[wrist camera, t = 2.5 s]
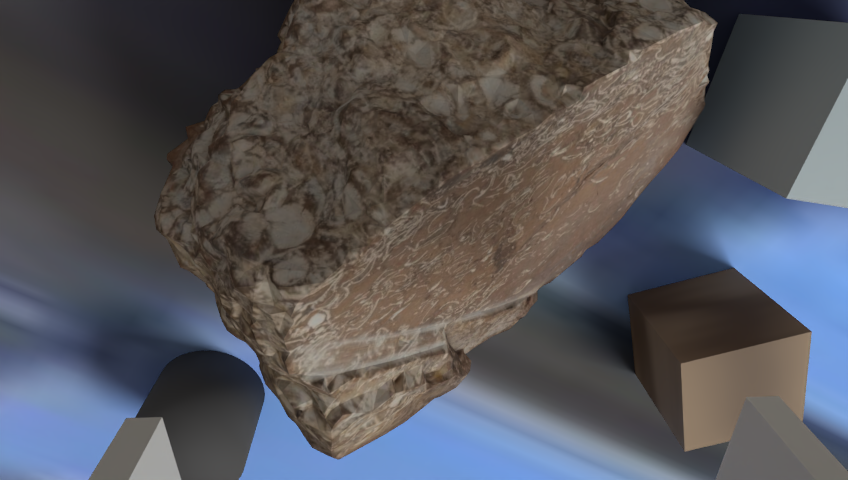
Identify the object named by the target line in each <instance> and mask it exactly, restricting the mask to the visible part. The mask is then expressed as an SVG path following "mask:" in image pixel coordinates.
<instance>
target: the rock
mask: <svg viewBox="0 0 848 480" xmlns="http://www.w3.org/2000/svg"><path fill="white" fill-rule="evenodd" d="M716 25H717V22H716V21H715V20H714V19H712V18H711V17H710V16H709V15H707V14H706V13H705V12H702V11H700V10H697V9H694V8H691V7H690V6H689V5H688V4H687V3H686V2H685V1H684V0H294V2H293V4H292V5H291V7H290V9H289V11H288V13H287V15H286V17H285V20H284V22H283V24H282V26H281V28H280V31H279V33H278V35H277V36H278V37H279V39H280V41H281V44H280V46H279V48H278V51H277V54H275V55H273V56H272V57H270V58H268V60H267V61H266V62H265V63H264V64H263V65H262V66H261V67H260V68H256V71H255V72H254V73H253V75H252V76H251V77H250V78H249V79H248V80H247V81H246V82H245V83H244V84H243V85H241V86H240V87H239V88H237V89H230V90H224V91H223V92H221V93H220V94H219V95H218V102H217V103H215V104H214V105H213V106H211V108H210V110H209V112H208V114H207V117H206V119H205V121H203V122H200V123H196V124H193V125H190V126H187V127H186V131H187V136H188V139H187V140H186V141H184V142H183V143H182V144H180V145H179V146H178V147H176V148H175V149H173V150H172V151H171V152H169V153H168V154H167V160H168V161H169V163H170V164H171V165H172V166H173V167H172V169H171V172H170V174H169V176H168V178H167V181H166V183H165V185H164V187H163V190H162V192H161V195H160V198H159V202H158V205H157V208H156V211H155V215H154V218H155V224H156V229H157V230H158V231H159V232H160V233H161V234H162V235H163V236H164V237H165V238H166V239H167V240H168V242H169V244H170V246H171V248H172V250H173V252H174V254H175V257H176V259H177V261H178V263H179V265H180V267H181V268H183V269H186V270H188V271H190V272H191V273H193V274H194V275H195V276H197V277H198V278H200V279H201V280H202V281H204V282H206V285H207V287H208V288H210V289H211V290H212V291H213V292H214V293H215V298H216V304H217V307H218V310H219V313H220V317H221V319H222V322H223V324H224V325H225V327H226V329H227V331H228V332H230V333H231V334H233V335H234V336H235V337H237V338H238V339H240V340H242V341H244V342H246V343H247V344H248V345H249V346H250V347H251V348H252V350H253V351H254V352H255V353H256V355H257V357H258V359H259V362H260V365H259V367H260V370H261V373H262V376H263V378H264V381H265V384H266V385H267V386H268V387H269V389H270V390H271V391H272V392H273V393H274V394H275V396H276V397H277V398H278V399H279V400H280V402H281V404H282V406H283V408H284V410H285V412H286V414H287V415H288V417H289V418H290V419H291V420H292V421H294V422H295V423H296V424H297V426H298V427H299V429H300V430H301V432H302V434H303V435H304V437H305V438H306V439H307V441H308V442H309V444H310V445H311V447H312V448H314V449H316V450H318V451H320V452H322V453H324V454H326V455H328V456H331V457H333V458H336V459H341V458H342V457H344V456H346V455H348V454H350V453H352V452H353V451H355V450H357V449H359V448H361V447H363V446H364V445H366V444H368V443H370V442H372V441H374V440H375V439H377V438H379V437H381V436H383V435H384V434H386V433H388V432H389V431H391V430H393V429H394V428H396V427H397V426H399V425H401V424H402V423H404V422H405V421H407V420H408V419H409V418H410V417H412V416H413V415H414V414H415V413H417V412H418V411H419V410H421V409H422V408H423V407H424V406H426V405H427V404H428V403H429V402H430V401H431V400H433V399H434V398H437V397H440V396H442V395H443V394H445V393H447V392H449V391H451V390H452V389H454V388H456V387H457V386H458V385H459V384H460V382H461V381H462V380H463V379H464V378H465V377H466V375H467V374H468V373H469V371H470V365H471V360H470V359H469V358H468V357H467V356H466V353H468V352H469V351H470V350H472V349H473V348H474V347H476V346H477V345H479V344H481V343H482V342H484V341H485V340H487V339H489V338H490V337H492V336H494V335H497V334H499V333H501V332H504V331H506V330H509V329H510V328H511V327H512V326H513V325H514V324H515V323H516V322H517V321H518V320H519V319H521V318H522V317H524V316H526V314H527V312H528V311H529V309H530V308H531V306H532V305H533V304H534V303H535V302H536V301H537V290H538V289H540V288H541V287H542V286H543V285H546V284H548V283H550V282H551V281H552V280H554V279H555V278H556V277H557V276H558V275H560V274H561V273H562V272H563V271H564V270H566V269H567V268H568V267H569V266H570V265H572V264H573V263H574V262H575V261H576V260H578V259H579V258H580V257H581V256H582V255H583V253H584V252H585V250H586V249H588V248H590V247H591V246H593V245H594V244H596V243H598V242H599V241H600V240H601V239H602V238H603V237H604V236H605V235H606V234H607V233H608V232H609V231H610V230H611V229H612V228H613V227H614V226H615V224H616V223H617V222H618V221H619V220H620V219H621V218H622V217H623V216H624V215H625V213H626V212H627V211H628V209H629V208H630V206H631V205H632V204H633V203H634V201H635V200H636V199H637V198H638V197H639V195H640V194H641V193H642V192H643V190H644V189H645V188H646V187H647V186H648V184H649V183H650V182H651V181H652V180H653V178H654V177H655V176H656V175H657V174H658V173H659V172H660V171H661V170H662V168H663V167H664V166H665V165H666V164H667V163H668V161H669V160H670V159H671V158H672V157H673V155H674V154H675V153H676V152H677V150H678V149H679V148H680V146H681V144H682V143H683V141H684V139H685V138H686V136H687V134H688V133H689V131H690V130H691V128H692V127H693V125H694V124H695V122H696V120H697V118H698V116H699V115H700V114H701V112H702V111H703V109H704V106H705V104H706V103H705V101H704V99H705V87H706V86H707V84H708V83H709V79H708V76H707V75H708V72H709V67H708V62H709V57H710V52H711V45H712V39H713V33H714V29H715V27H716Z"/></svg>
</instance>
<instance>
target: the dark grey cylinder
mask: <svg viewBox="0 0 848 480" xmlns="http://www.w3.org/2000/svg"><path fill="white" fill-rule="evenodd" d="M264 397H265V393H264V387H263V383H262V381H261V379H260V377H259V376H258V374H257V373H256V372H255V371H254V370H253V369H252V368H251V367H250V366H249V365H248V364H246V363H245V362H244V361H242V360H240V359H238V358H236V357H234V356H232V355H229V354H226V353H222V352H217V351H194V352H189V353H186V354H183V355H181V356H179V357H176V358H175V359H173V360H172V361H171V362H169V363H168V364H167V365H166V366H165V368H164V369H163V371H162V372H161V374H160V376H159V378H158V379H157V381H156V383H155V384H154V386H153V388H152V390H151V391H150V393H149V395H148V397H147V398H146V400H145V402H144V403H143V405H142V407H141V409H140V410H139V412H138V414H137V415H136V417H135V418H148V417H162V418H163V421H164V425H165V428H166V431H167V435H168V438H169V441H170V444H171V448H172V451H173V454H174V457H175V461H176V464H177V467H178V471H179V474H180V477H181V480H238V479H239V478H240V477H241V475H242V473H243V470H244V467H245V464H246V460H247V457H248V453H249V450H250V447H251V443H252V440H253V436H254V433H255V430H256V426H257V423H258V419H259V416H260V413H261V409H262V406H263V402H264Z"/></svg>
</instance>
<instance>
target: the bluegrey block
mask: <svg viewBox="0 0 848 480" xmlns="http://www.w3.org/2000/svg"><path fill="white" fill-rule="evenodd" d="M704 101H705V103H706V104H705V106H704V109H703V111H702V112H701V114H700V115H699V116H698V118H697V120H696V122H695V124H694V126H693V129H692V131H691V134H690V136H689V139H688V141H687V144H686V145H688V146H690V147H691V148H693V149H695V150H697V151H699V152H701V153H703V154H705V155H706V156H708V157H710V158H712V159H714V160H716V161H718V162H719V163H721V164H723V165H725V166H727V167H729V168H731V169H733V170H734V171H736V172H738V173H740V174H742V175H744V176H746V177H747V178H749V179H751V180H753V181H755V182H757V183H759V184H760V185H762V186H764V187H766V188H768V189H770V190H772V191H774V192H775V193H777V194H779V195H781V196H783V197H785V198H787V199H794V200H800V201H806V202H813V203H819V204H825V205H832V206H838V207H844V208H848V23H844V22H832V21H820V20H808V19H796V18H784V17H773V16H761V15H749V14H739V15H738V18H737V20H736V23H735V25H734V28H733V30H732V32H731V35H730V37H729V40H728V42H727V45H726V47H725V50H724V52H723V55H722V57H721V60H720V62H719V65H718V67H717V70H716V72H715V74H714V77H713V79H712V82H711V84H710V87H709V89H708V92H707V94H706V97H705V99H704Z"/></svg>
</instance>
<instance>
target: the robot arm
mask: <svg viewBox="0 0 848 480" xmlns="http://www.w3.org/2000/svg"><path fill="white" fill-rule="evenodd" d="M89 480H181V477H180V474H179V471H178V467H177V464H176V461H175V457H174V454H173V451H172V448H171V444H170V441H169V438H168V435H167V431H166V428H165V425H164V421H163V418H162V417H148V418H126V419H125V421H124V423H123V424H122V426H121V428H120V429H119V431H118V432H117V434H116V436H115V437H114V439H113V441H112V442H111V444H110V446H109V447H108V449H107V450H106V452H105V454H104V455H103V457H102V459H101V460H100V462H99V464H98V465H97V467H96V468H95V470H94V472H93V473H92V475H91V477H90V478H89ZM716 480H848V471H847V470H846V469H845V468H844V467H843V466H842V465H841V464H840V463H839V461H838V460H837V459H836V458H835V457H834V456H833V455H832V454H831V453H830V452H829V451H828V449H827V448H826V447H825V446H824V445H823V444H822V443H821V442H820V441H819V440H818V439H817V437H816V436H815V435H814V434H813V433H812V432H811V431H810V430H809V429H808V428H807V426H806V425H805V424H804V423H803V422H802V421H801V420H800V419H799V418H798V417H797V416H796V414H795V413H794V412H793V411H792V410H791V409H790V408H789V407H788V406H787V405H786V404H785V402H784V401H783V400H782V399H781V398H780V397H779V396H767V397H746V400H745V402H744V405H743V408H742V410H741V413H740V416H739V418H738V421H737V424H736V426H735V429H734V432H733V434H732V437H731V440H730V442H729V445H728V448H727V450H726V453H725V456H724V458H723V461H722V464H721V466H720V469H719V472H718V474H717V477H716Z"/></svg>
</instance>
